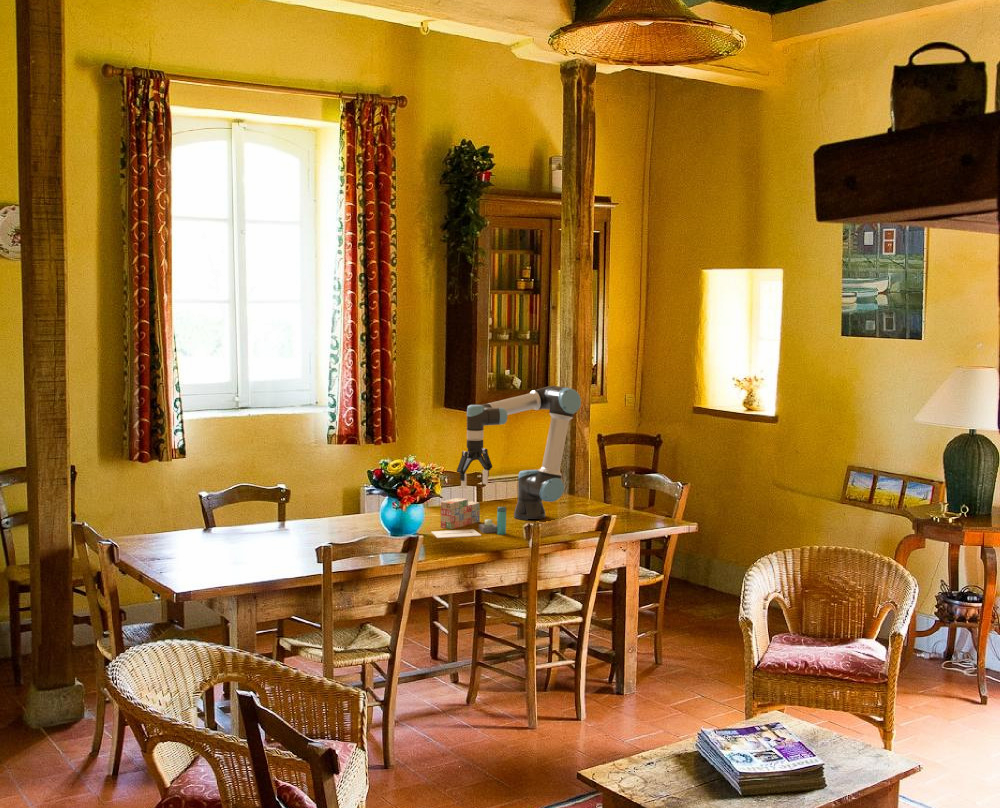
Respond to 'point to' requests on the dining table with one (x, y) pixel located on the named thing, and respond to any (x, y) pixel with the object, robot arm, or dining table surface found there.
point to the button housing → (487, 528)
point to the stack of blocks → (459, 513)
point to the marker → (501, 520)
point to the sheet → (455, 533)
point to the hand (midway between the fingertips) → (474, 486)
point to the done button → (488, 522)
